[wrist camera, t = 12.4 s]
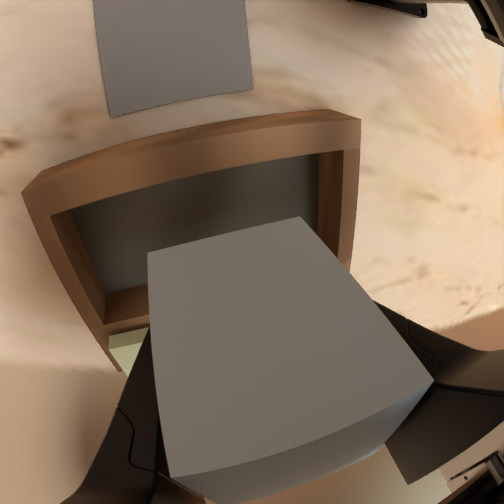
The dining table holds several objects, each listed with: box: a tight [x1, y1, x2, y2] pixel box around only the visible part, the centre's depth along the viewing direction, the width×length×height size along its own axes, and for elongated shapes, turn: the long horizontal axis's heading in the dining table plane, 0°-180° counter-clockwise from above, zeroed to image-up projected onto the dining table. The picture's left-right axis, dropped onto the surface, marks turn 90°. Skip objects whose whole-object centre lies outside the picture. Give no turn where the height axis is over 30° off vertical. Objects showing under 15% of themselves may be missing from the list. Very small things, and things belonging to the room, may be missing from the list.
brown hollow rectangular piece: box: [21, 110, 361, 372], centre depth 17 cm, size 16×13×3 cm
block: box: [147, 216, 434, 504], centre depth 7 cm, size 4×4×6 cm
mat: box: [93, 0, 254, 118], centre depth 11 cm, size 7×7×1 cm
